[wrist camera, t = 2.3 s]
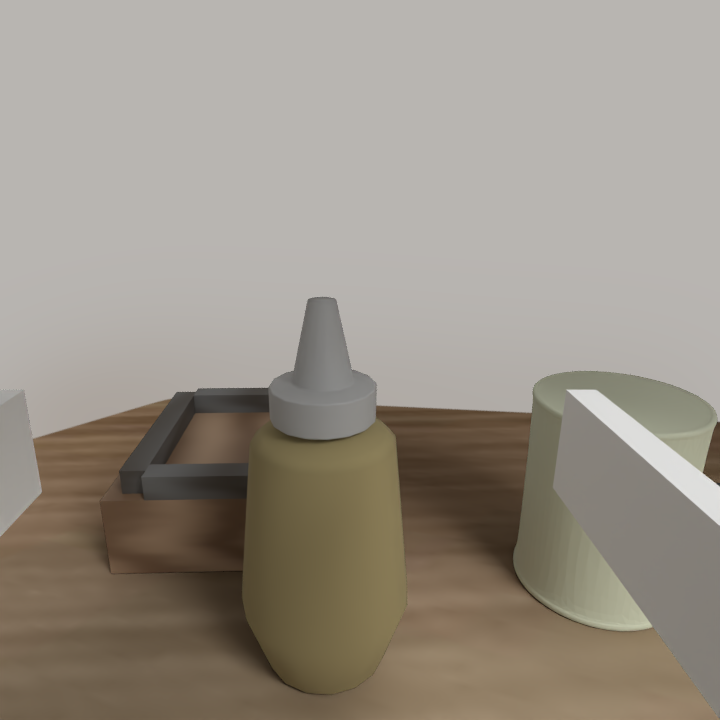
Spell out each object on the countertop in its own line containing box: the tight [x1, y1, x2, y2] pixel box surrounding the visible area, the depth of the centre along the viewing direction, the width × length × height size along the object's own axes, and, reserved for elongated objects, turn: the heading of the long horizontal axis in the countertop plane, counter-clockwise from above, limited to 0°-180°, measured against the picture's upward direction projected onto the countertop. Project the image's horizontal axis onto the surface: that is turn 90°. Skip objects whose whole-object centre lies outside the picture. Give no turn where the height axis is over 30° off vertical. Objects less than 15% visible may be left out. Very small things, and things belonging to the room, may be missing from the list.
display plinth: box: [100, 388, 270, 574], centre depth 39 cm, size 16×14×6 cm
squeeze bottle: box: [242, 297, 407, 695], centre depth 26 cm, size 8×8×18 cm
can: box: [513, 371, 717, 631], centre depth 32 cm, size 9×9×12 cm
